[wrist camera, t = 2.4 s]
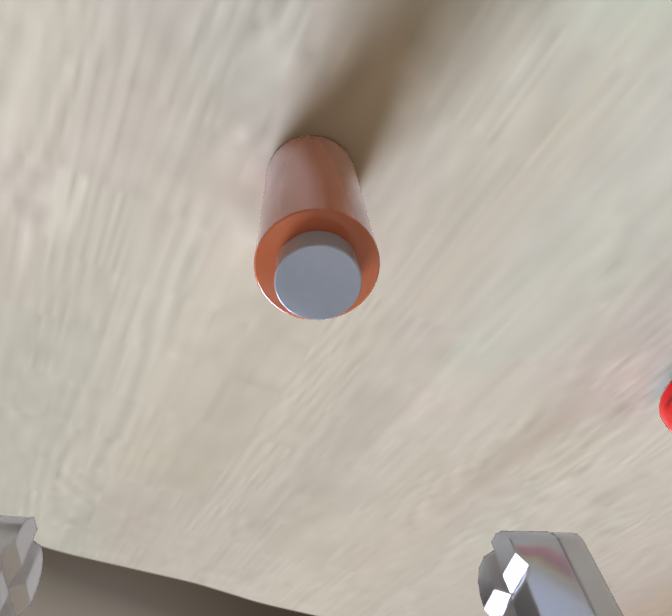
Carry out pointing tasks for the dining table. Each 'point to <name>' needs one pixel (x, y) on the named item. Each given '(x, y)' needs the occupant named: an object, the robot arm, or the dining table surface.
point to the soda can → (666, 406)
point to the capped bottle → (314, 232)
